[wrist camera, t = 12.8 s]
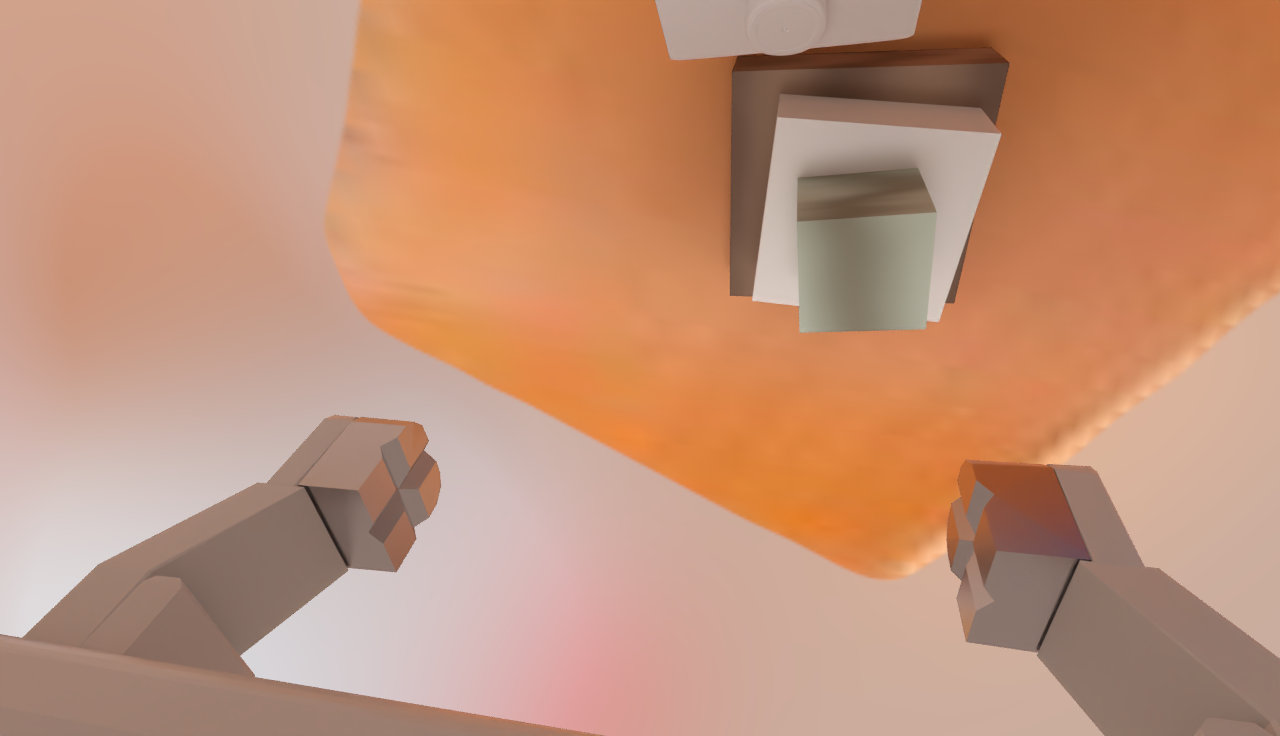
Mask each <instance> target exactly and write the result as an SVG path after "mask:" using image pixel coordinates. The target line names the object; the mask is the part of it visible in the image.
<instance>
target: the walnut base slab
mask: <svg viewBox="0 0 1280 736" xmlns="http://www.w3.org/2000/svg"><path fill="white" fill-rule="evenodd" d="M1008 68H1009V62H1008V61H1007V60H1006V59H1004V58H1003V57H1002V56H1001V55H1000V54H999V53H997V52H996V51H995V50H994V49H993V48H992V47H989V48H961V49H933V50H905V51H878V52H850V53H822V54H794V55H786V56H775V55H766V56H738V57H737V60H736V63H735V65H734V68H733V71H732V135H731V239H730V296H753V290H754V282H755V273H756V265H757V258H758V251H759V243H760V236H761V229H762V221H763V214H764V207H765V200H766V192H767V185H768V178H769V170H770V163H771V156H772V149H773V141H774V134H775V127H776V120H777V112H778V105H779V98H780V94H790V95H804V96H819V97H833V98H847V99H861V100H876V101H890V102H904V103H918V104H933V105H947V106H961V107H975V108H981V109H982V110H983V111H984V113H985V114H986V115H987V116H988V118H989V119H990V120H991V121H992V123H993V124H994V125H995V124H996V120H997V115H998V111H999V107H1000V102H1001V98H1002V94H1003V89H1004V85H1005V81H1006V76H1007V72H1008ZM973 219H974V218H973ZM972 224H973V221H972ZM972 224H971V227H970V230H969V233H968V236H967V239H966V242H965V245H964V248H963V251H962V254H961V257H960V260H959V263H958V266H957V269H956V272H955V275H954V278H953V281H952V284H951V287H950V290H949V293H948V296H947V299H946V302H945V303H954V302H955V297H956V293H957V289H958V284H959V280H960V276H961V271H962V267H963V263H964V258H965V254H966V250H967V245H968V241H969V237H970V232H971V228H972Z"/></svg>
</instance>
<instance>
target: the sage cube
mask: <svg viewBox="0 0 1280 736" xmlns="http://www.w3.org/2000/svg"><path fill="white" fill-rule="evenodd" d="M936 218H937V211H936V209H935V206H934V204H933V202H932V199H931V197H930V195H929V192H928V190H927V188H926V185H925V183H924V181H923V178H922V176H921V174H920V171H919V169H918V168H911V169H899V170H887V171H875V172H863V173H851V174H839V175H827V176H815V177H803V178H798V185H797V247H798V287H799V326H800V333H806V332H842V331H878V330H914V329H926V323H927V313H928V302H929V292H930V281H931V271H932V260H933V250H934V239H935V229H936Z"/></svg>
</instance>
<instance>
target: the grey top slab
mask: <svg viewBox="0 0 1280 736" xmlns="http://www.w3.org/2000/svg"><path fill="white" fill-rule="evenodd" d="M1001 135H1002V134H1001V133H1000V131H999V130H998V129H997V128H996V126H995V125H994V124H993V123H992V121H991V120H990V119H989V118H988V116H987V115H986V114H985V113H984V111H983V110H982V109H981V108H975V107H961V106H947V105H933V104H918V103H904V102H890V101H876V100H861V99H847V98H833V97H819V96H804V95H790V94H780V98H779V105H778V112H777V120H776V127H775V134H774V141H773V149H772V156H771V163H770V170H769V178H768V185H767V192H766V200H765V207H764V214H763V221H762V229H761V236H760V243H759V251H758V258H757V265H756V273H755V282H754V290H753V298H752V301H759V302H768V303H777V304H785V305H794V306H799V287H798V247H797V185H798V178H803V177H815V176H827V175H839V174H851V173H863V172H875V171H887V170H899V169H911V168H918V169H919V171H920V174H921V176H922V178H923V181H924V183H925V185H926V188H927V190H928V192H929V195H930V197H931V199H932V202H933V204H934V206H935V209H936V211H937V218H936V229H935V239H934V250H933V260H932V271H931V281H930V292H929V302H928V313H927V321H933V322H939V320H940V317H941V314H942V311H943V308H944V305H945V302H946V299H947V296H948V293H949V290H950V287H951V284H952V281H953V278H954V275H955V272H956V269H957V266H958V263H959V260H960V257H961V254H962V251H963V248H964V245H965V242H966V239H967V236H968V233H969V230H970V227H971V224H972V221H973V218H974V215H975V212H976V209H977V206H978V203H979V200H980V197H981V194H982V191H983V188H984V185H985V182H986V179H987V176H988V173H989V170H990V167H991V164H992V161H993V158H994V155H995V152H996V149H997V146H998V144H999V141H1000V138H1001Z"/></svg>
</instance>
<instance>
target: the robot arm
mask: <svg viewBox="0 0 1280 736" xmlns="http://www.w3.org/2000/svg"><path fill="white" fill-rule="evenodd" d="M428 441H429V440H428V438H427V435H426V433H425V431H424V428H423V426H422V425H420V424H418V423H415V422H409V421H398V420H387V419H377V418H366V417H360V418H357V417H349V416H339V415H334V416H331V417H328V418H326V419H324V420H323V421H322V422H321V424H320V425H319V426H318V427H317V428H316V429H315V430H314V431H313V432H312V433H311V435H310V436H309V437H308V438H307V439H306V440H305V441H304V442H303V444H302V445H301V446H300V447H299V448H298V449H297V450H296V451H295V452H294V453H293V454H292V456H291V457H290V458H289V459H288V460H287V461H286V462H285V463H284V464H283V466H282V467H281V468H280V469H279V470H278V471H277V472H276V473H275V474H274V475H273V477H272V478H271V479H270V480H269V481H268V482H267V483H256V484H254V485H252V486H251V487H248V488H247V489H245V490H243V491H241V492H239V493H237V494H235V495H233V496H231V497H229V498H227V499H226V500H223V501H221V502H219V503H217V504H215V505H213V506H212V507H210V508H208V509H206V510H204V511H202V512H200V513H198V514H196V515H194V516H192V517H190V518H188V519H187V520H184V521H182V522H180V523H179V524H176V525H174V526H173V527H171V528H169V529H167V530H165V531H163V532H161V533H159V534H157V535H155V536H153V537H151V538H149V539H147V540H145V541H143V542H141V543H139V544H137V545H135V546H134V547H132V548H130V549H128V550H126V551H124V552H122V553H120V554H118V555H116V556H114V557H112V558H110V559H108V560H107V561H104V562H103V563H100V564H99V565H97V566H96V567H95V568H94V569H93V570H92V571H91V572H90V573H89V574H88V575H87V576H86V577H85V578H84V579H83V580H82V581H81V582H80V583H79V584H78V585H77V586H76V587H75V588H74V589H72V590H71V591H70V592H69V593H68V594H67V595H66V596H65V597H64V598H63V599H62V600H61V601H60V602H59V603H58V604H57V605H56V606H55V607H54V608H53V609H52V610H51V611H50V612H49V613H48V614H46V615H45V616H44V618H42V619H41V620H40V621H39V622H38V623H37V624H36V625H35V626H34V627H33V628H32V629H31V630H30V631H29V632H28V633H27V634H26V635H25V636H24V637H23V638H19V637H13V636H7V635H2V634H0V736H603V735H597V734H591V733H585V732H579V731H573V730H567V729H561V728H555V727H549V726H543V725H537V724H531V723H525V722H519V721H513V720H507V719H501V718H495V717H489V716H483V715H477V714H471V713H465V712H459V711H453V710H447V709H441V708H435V707H430V706H424V705H417V704H412V703H406V702H400V701H393V700H387V699H381V698H376V697H369V696H364V695H358V694H352V693H346V692H339V691H334V690H328V689H322V688H316V687H310V686H304V685H298V684H292V683H286V682H280V681H275V680H268V679H263V678H256V677H255V675H254V674H253V672H252V671H251V670H250V668H249V667H248V666H247V664H246V663H245V662H244V660H243V659H242V658H241V657H240V655H241V654H243V653H244V652H245V651H246V650H248V649H249V648H250V647H251V646H253V645H254V644H255V643H257V642H258V641H259V640H260V639H262V638H263V637H264V636H265V635H267V634H268V633H269V632H271V631H272V630H273V629H275V628H276V627H277V626H278V625H279V624H281V623H282V622H283V621H285V620H286V619H287V618H289V617H290V616H291V615H292V614H294V613H295V612H296V611H297V610H299V609H300V608H301V607H303V606H304V605H305V604H306V603H308V602H309V601H310V600H311V599H313V598H314V597H315V596H317V595H318V594H319V593H320V592H321V591H323V590H324V589H325V588H327V587H328V586H329V585H330V584H332V583H333V582H334V581H336V580H337V579H338V578H339V577H341V576H342V575H343V574H345V573H346V572H347V571H348V568H356V569H367V570H378V571H389V572H397V570H398V569H399V567H400V565H401V564H402V562H403V560H404V559H405V557H406V555H407V554H408V552H409V550H410V549H411V547H412V545H413V544H414V542H415V540H416V535H415V529H414V527H415V526H417V525H418V524H420V523H421V522H423V521H424V520H426V519H427V518H429V517H430V515H431V513H432V511H433V510H434V508H435V506H436V504H437V501H438V496H439V492H440V488H441V480H440V471H439V468H438V465H437V462H436V461H435V460H434V459H433V458H432V457H431V456H430V455H428V454H427V453H426V452H425V451H424V449H425V447H426V445H427V443H428ZM957 481H958V485H959V490H960V494H961V497H960V498H958V499H957V500H956V501H954V502H953V503H951V507H950V512H949V517H948V523H947V550H948V558H949V563H950V568H951V571H952V572H953V573H954V574H955V575H956V576H957V577H958V578H959V579H960V580H961V585H960V589H959V592H958V596H957V602H958V606H959V611H960V616H961V620H962V625H963V630H964V634H965V639H966V642H970V643H977V644H984V645H991V646H998V647H1004V648H1011V649H1018V650H1024V651H1031V652H1038V654H1037V656H1038V657H1039V659H1040V660H1041V661H1042V662H1043V663H1044V664H1045V666H1046V667H1047V668H1048V669H1049V670H1050V672H1051V673H1052V674H1053V675H1054V676H1055V677H1056V679H1057V680H1058V681H1059V682H1060V683H1061V685H1062V686H1063V687H1064V688H1065V689H1066V691H1067V692H1068V693H1069V694H1070V695H1071V696H1072V698H1073V699H1074V700H1075V701H1076V702H1077V704H1078V705H1079V706H1080V707H1081V708H1082V709H1083V711H1084V712H1085V713H1086V714H1087V715H1088V717H1089V718H1090V719H1091V720H1092V721H1093V722H1094V724H1095V725H1096V726H1097V727H1098V728H1099V730H1100V731H1101V732H1102V733H1103V734H1104V735H1105V736H1280V658H1278V657H1277V656H1275V655H1274V654H1273V653H1271V652H1270V651H1269V650H1267V649H1266V648H1265V647H1263V646H1262V645H1261V644H1259V643H1258V642H1257V641H1255V640H1254V639H1252V638H1251V637H1250V636H1249V635H1247V634H1246V633H1245V632H1243V631H1242V630H1241V629H1239V628H1238V627H1237V626H1235V625H1234V624H1233V623H1231V622H1230V621H1228V620H1227V619H1226V618H1225V617H1223V616H1222V615H1221V614H1219V613H1218V612H1216V611H1215V610H1214V609H1212V608H1211V607H1210V606H1208V605H1207V604H1206V603H1204V602H1203V601H1202V600H1200V599H1199V598H1198V597H1196V596H1195V595H1194V594H1192V593H1191V592H1190V591H1188V590H1187V589H1186V588H1184V587H1183V586H1181V585H1180V584H1179V583H1177V582H1176V581H1175V580H1173V579H1172V578H1171V577H1169V576H1168V575H1167V574H1165V573H1164V572H1163V571H1161V570H1160V569H1159V568H1150V567H1145V566H1144V564H1143V562H1142V560H1141V558H1140V556H1139V555H1138V552H1137V550H1136V549H1135V546H1134V545H1133V543H1132V540H1131V538H1130V537H1129V534H1128V533H1127V530H1126V528H1125V526H1124V525H1123V523H1122V520H1121V519H1120V516H1119V515H1118V513H1117V510H1116V508H1115V507H1114V505H1113V503H1112V501H1111V499H1110V496H1109V494H1108V493H1107V490H1106V488H1105V487H1104V485H1103V483H1102V481H1101V479H1100V477H1099V475H1098V473H1097V472H1096V471H1095V470H1094V469H1093V468H1091V467H1090V466H1072V465H1053V464H1047V465H1043V464H1028V463H1012V462H995V461H979V460H965V461H964V463H963V465H962V466H961V469H960V473H959V476H958V480H957Z"/></svg>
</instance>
